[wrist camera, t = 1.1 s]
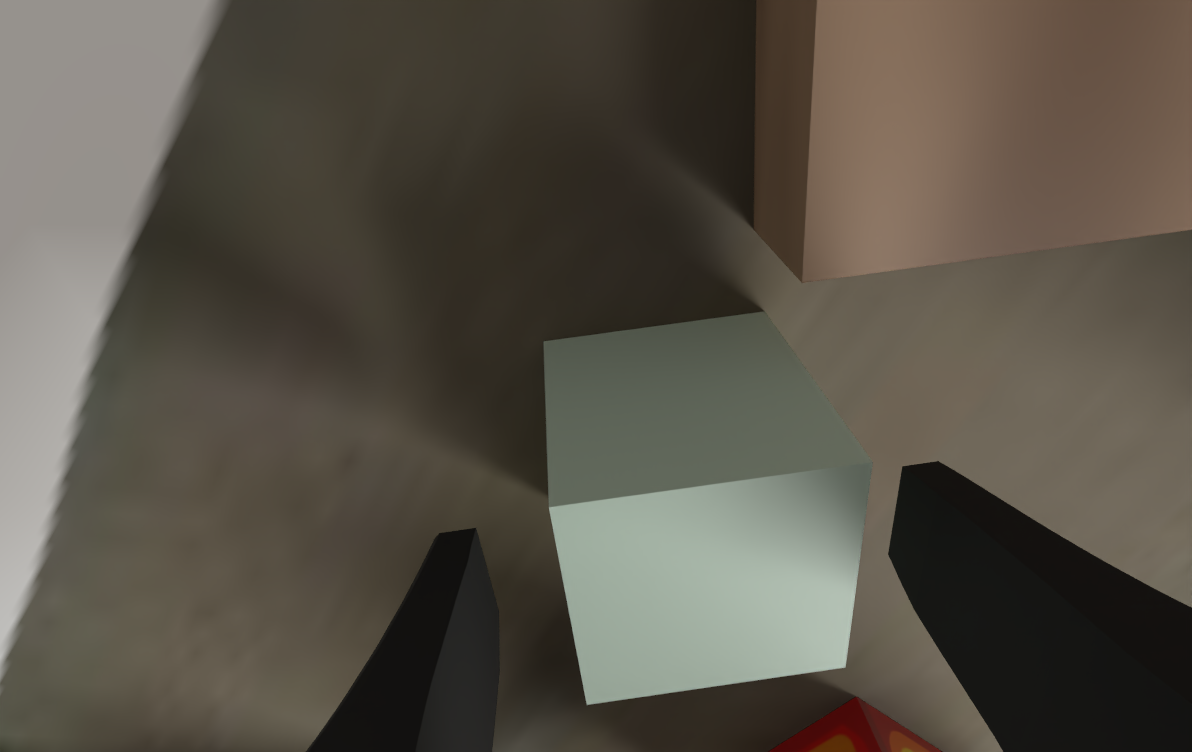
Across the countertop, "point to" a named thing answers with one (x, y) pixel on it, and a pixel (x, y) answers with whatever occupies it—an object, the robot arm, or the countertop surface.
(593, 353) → the sage block
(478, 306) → the countertop surface
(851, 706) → the baking soda box
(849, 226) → the walnut block
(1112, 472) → the countertop surface
